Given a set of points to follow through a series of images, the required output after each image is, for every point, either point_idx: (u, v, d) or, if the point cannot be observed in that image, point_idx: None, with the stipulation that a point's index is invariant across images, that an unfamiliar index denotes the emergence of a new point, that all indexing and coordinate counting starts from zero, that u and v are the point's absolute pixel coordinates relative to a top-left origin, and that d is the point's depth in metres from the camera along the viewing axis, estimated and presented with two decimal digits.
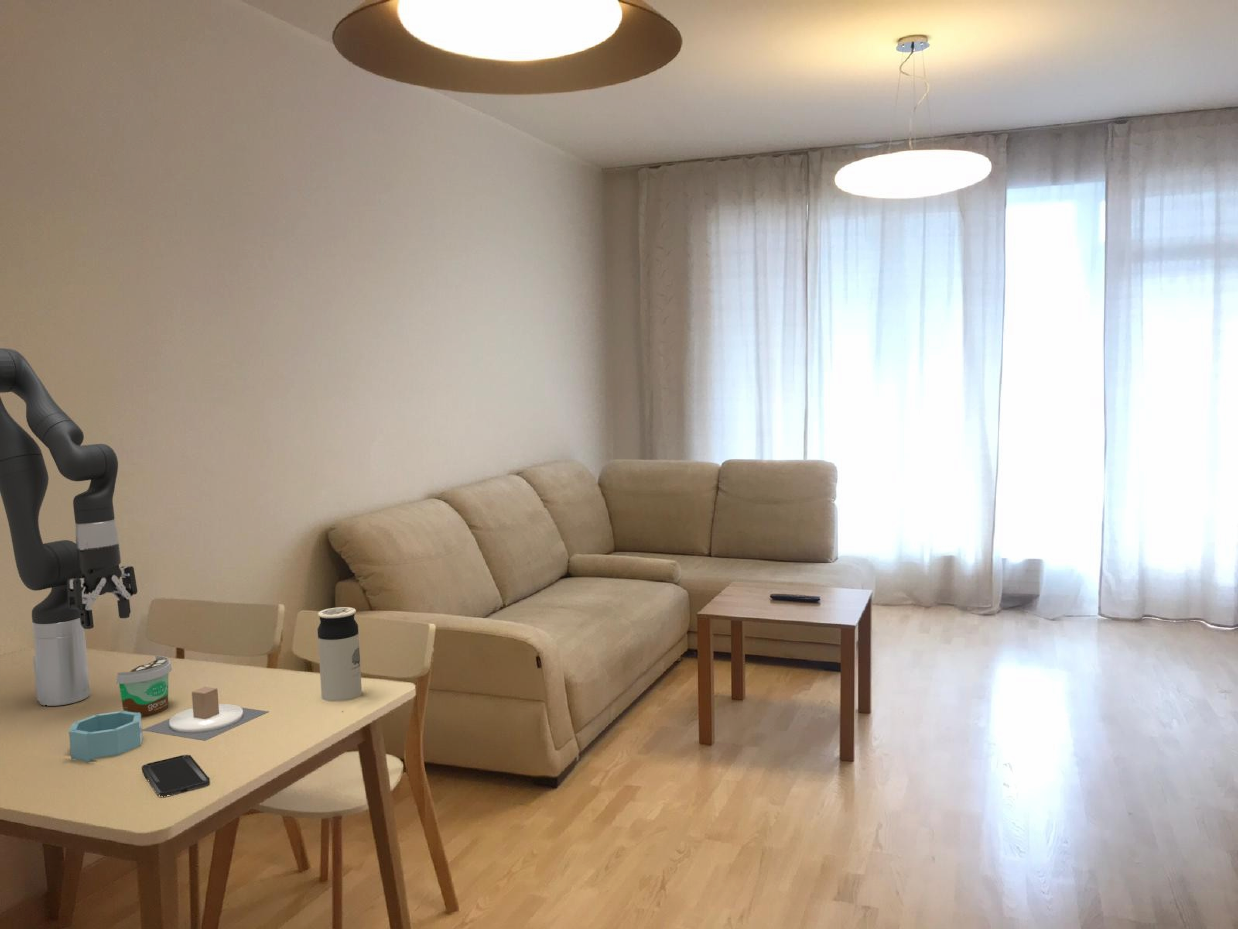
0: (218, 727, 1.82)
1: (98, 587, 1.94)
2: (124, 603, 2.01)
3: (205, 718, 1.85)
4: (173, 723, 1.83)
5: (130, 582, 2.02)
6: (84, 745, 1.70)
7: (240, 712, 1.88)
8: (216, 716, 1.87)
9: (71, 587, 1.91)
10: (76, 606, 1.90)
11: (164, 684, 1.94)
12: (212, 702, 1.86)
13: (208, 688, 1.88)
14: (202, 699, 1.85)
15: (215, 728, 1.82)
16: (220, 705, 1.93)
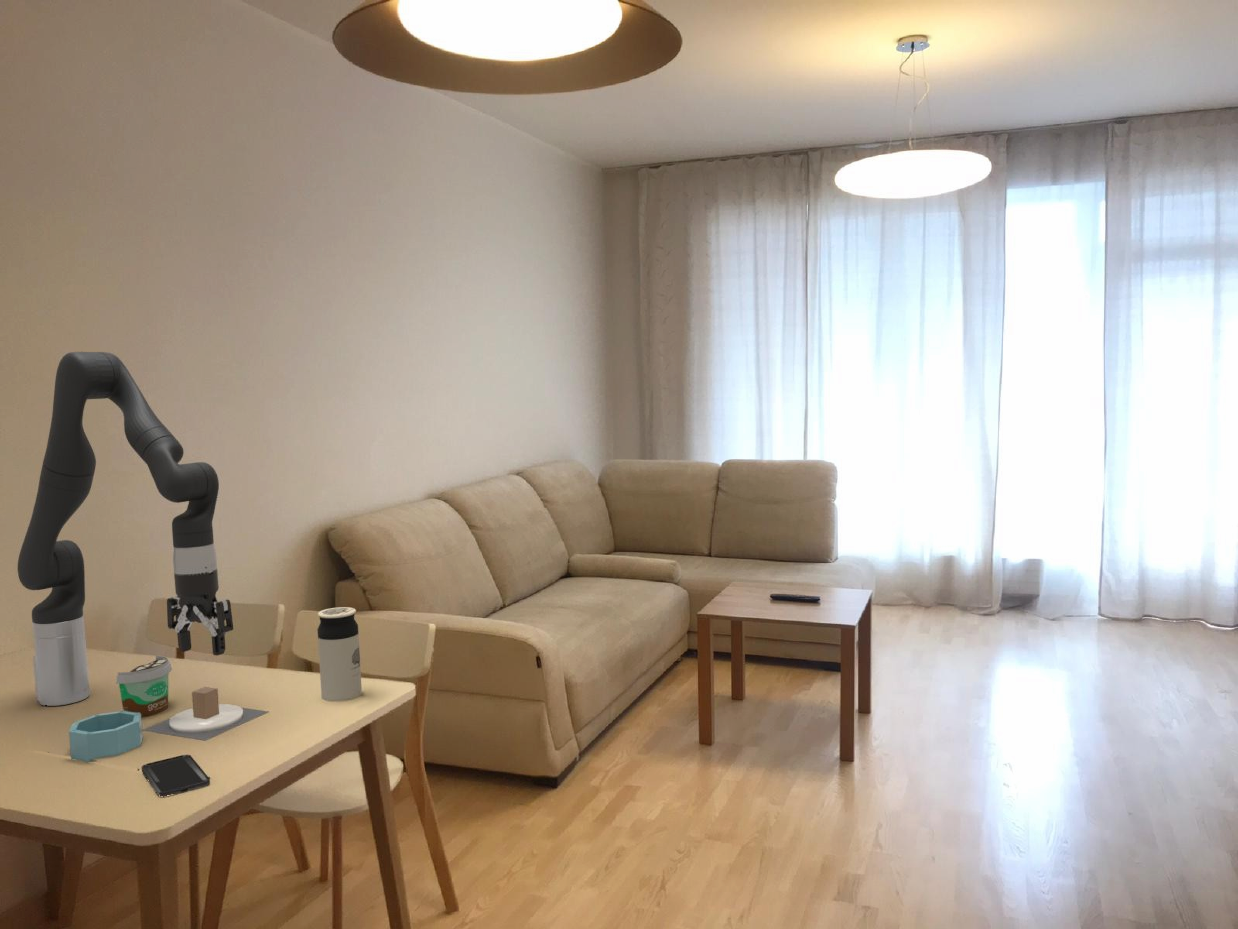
0: (218, 727, 1.83)
1: None
2: (189, 633, 1.88)
3: (205, 718, 1.85)
4: (173, 723, 1.83)
5: (181, 612, 1.89)
6: (84, 745, 1.70)
7: (240, 712, 1.89)
8: (216, 716, 1.87)
9: (225, 609, 1.82)
10: (232, 627, 1.84)
11: (164, 684, 1.94)
12: (212, 702, 1.86)
13: (208, 688, 1.88)
14: (202, 698, 1.85)
15: (215, 728, 1.82)
16: (220, 705, 1.93)
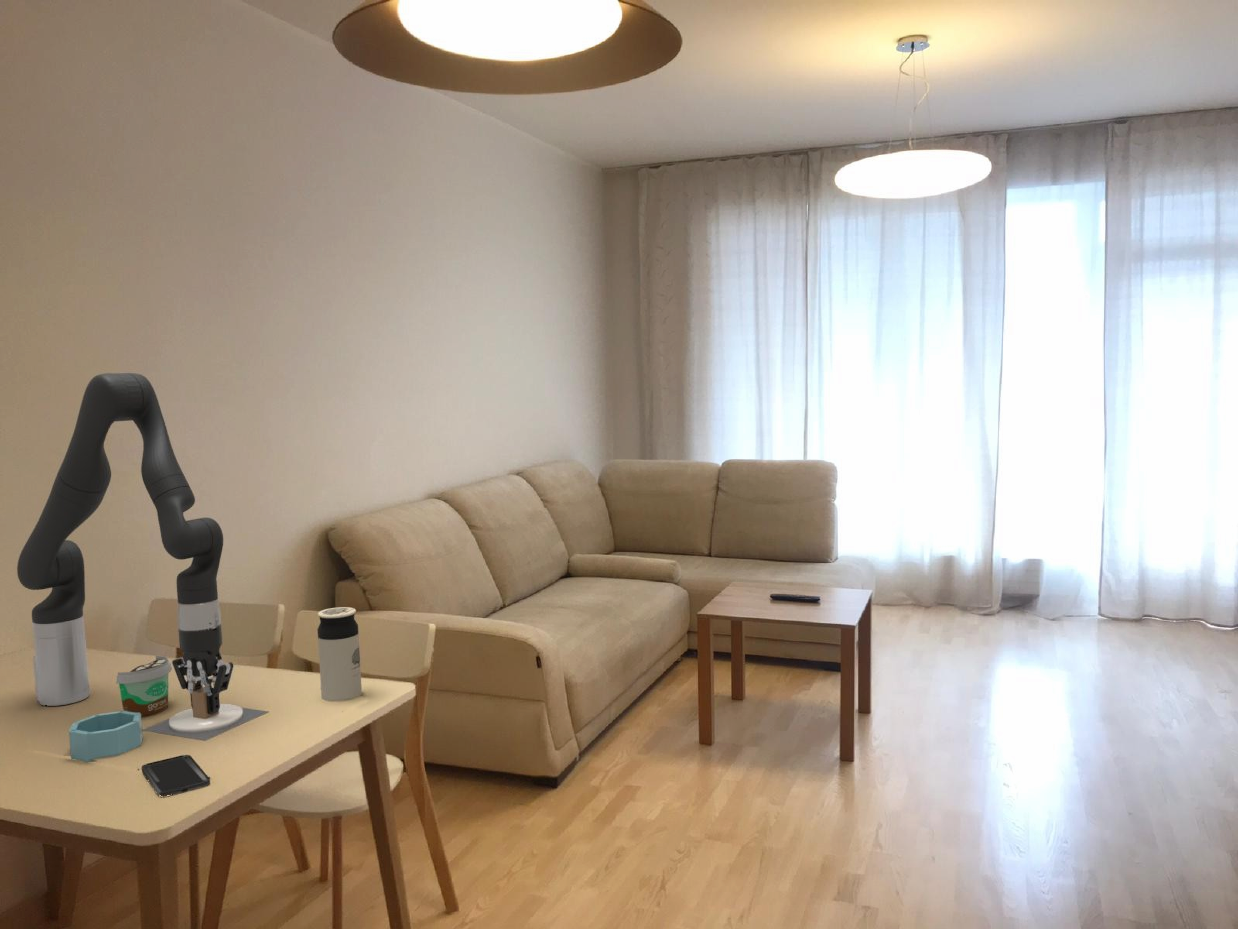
0: (218, 727, 1.83)
1: None
2: None
3: (205, 718, 1.85)
4: (173, 723, 1.83)
5: None
6: (84, 745, 1.70)
7: (240, 712, 1.89)
8: (216, 716, 1.87)
9: (227, 673, 1.84)
10: (226, 688, 1.86)
11: (164, 684, 1.94)
12: None
13: None
14: (201, 698, 1.85)
15: (215, 727, 1.82)
16: (220, 705, 1.93)
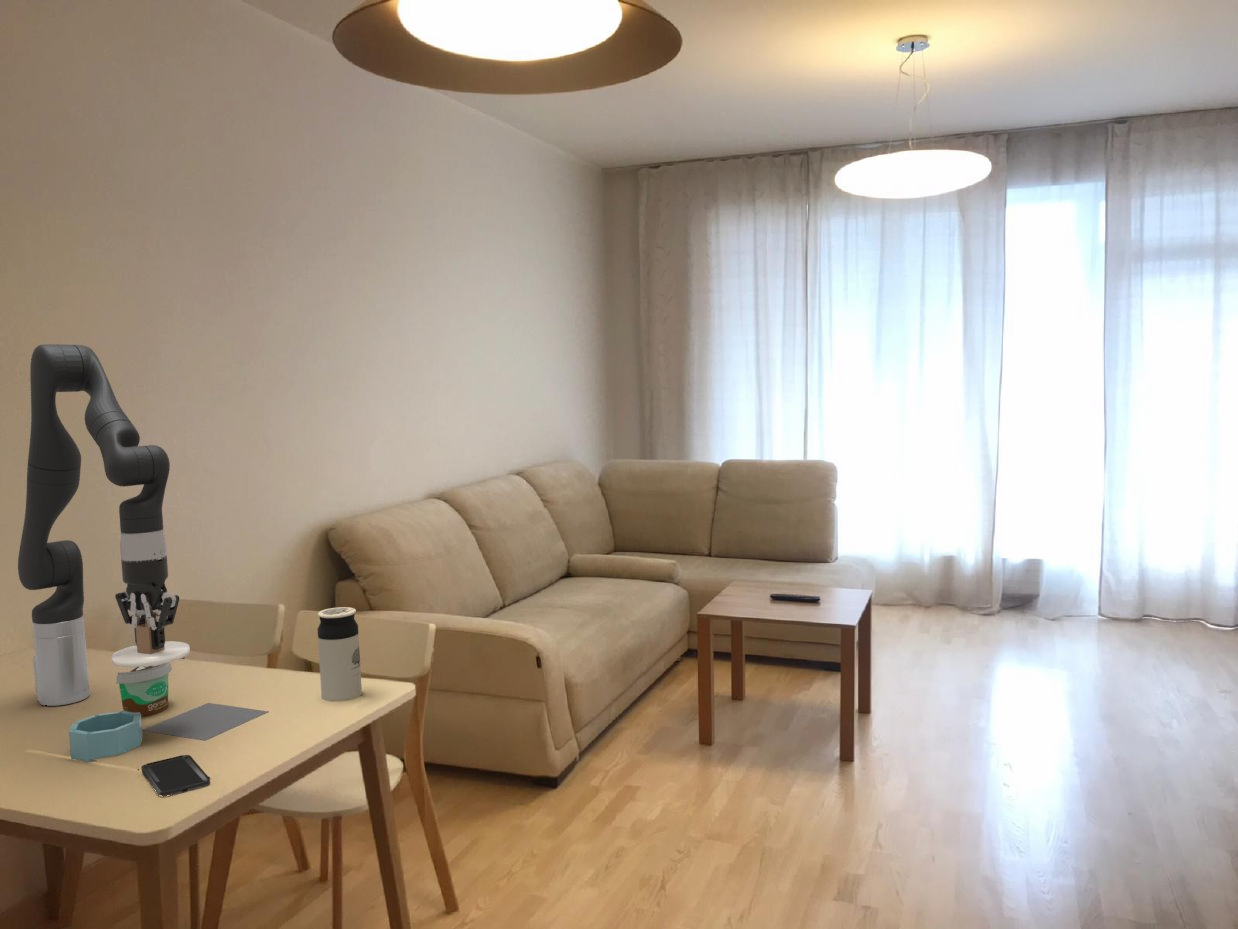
0: (163, 661, 1.76)
1: None
2: None
3: (149, 653, 1.78)
4: (115, 658, 1.76)
5: None
6: (84, 745, 1.70)
7: (187, 648, 1.82)
8: (161, 651, 1.80)
9: (172, 605, 1.77)
10: (172, 622, 1.79)
11: (164, 684, 1.94)
12: None
13: None
14: (146, 633, 1.78)
15: (160, 662, 1.75)
16: (166, 642, 1.86)
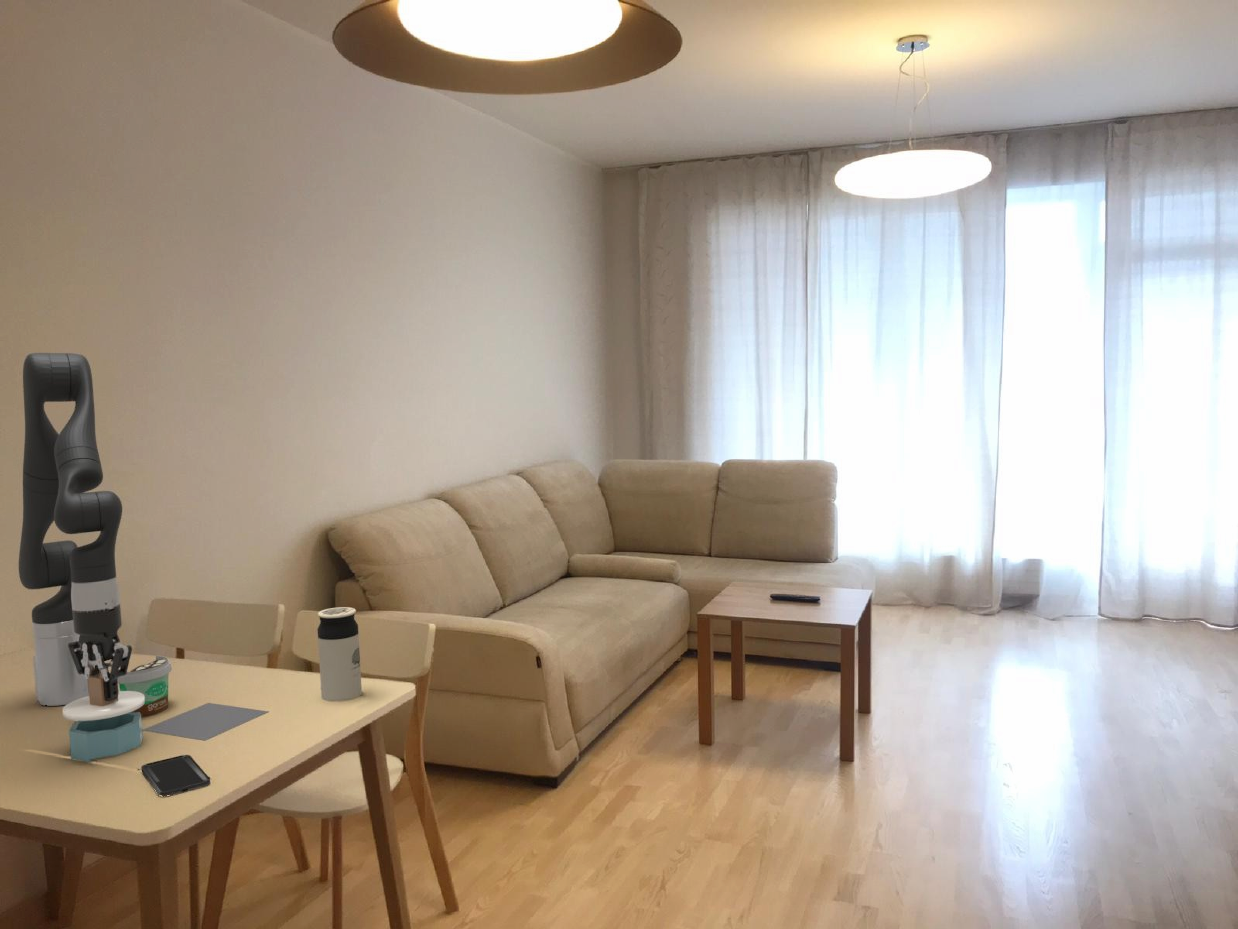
0: (114, 714, 1.70)
1: None
2: None
3: (101, 705, 1.73)
4: (66, 711, 1.71)
5: None
6: (84, 745, 1.70)
7: (141, 699, 1.76)
8: (114, 703, 1.74)
9: (124, 656, 1.72)
10: (125, 673, 1.73)
11: (164, 684, 1.94)
12: None
13: None
14: (98, 684, 1.73)
15: (111, 715, 1.70)
16: (122, 692, 1.81)
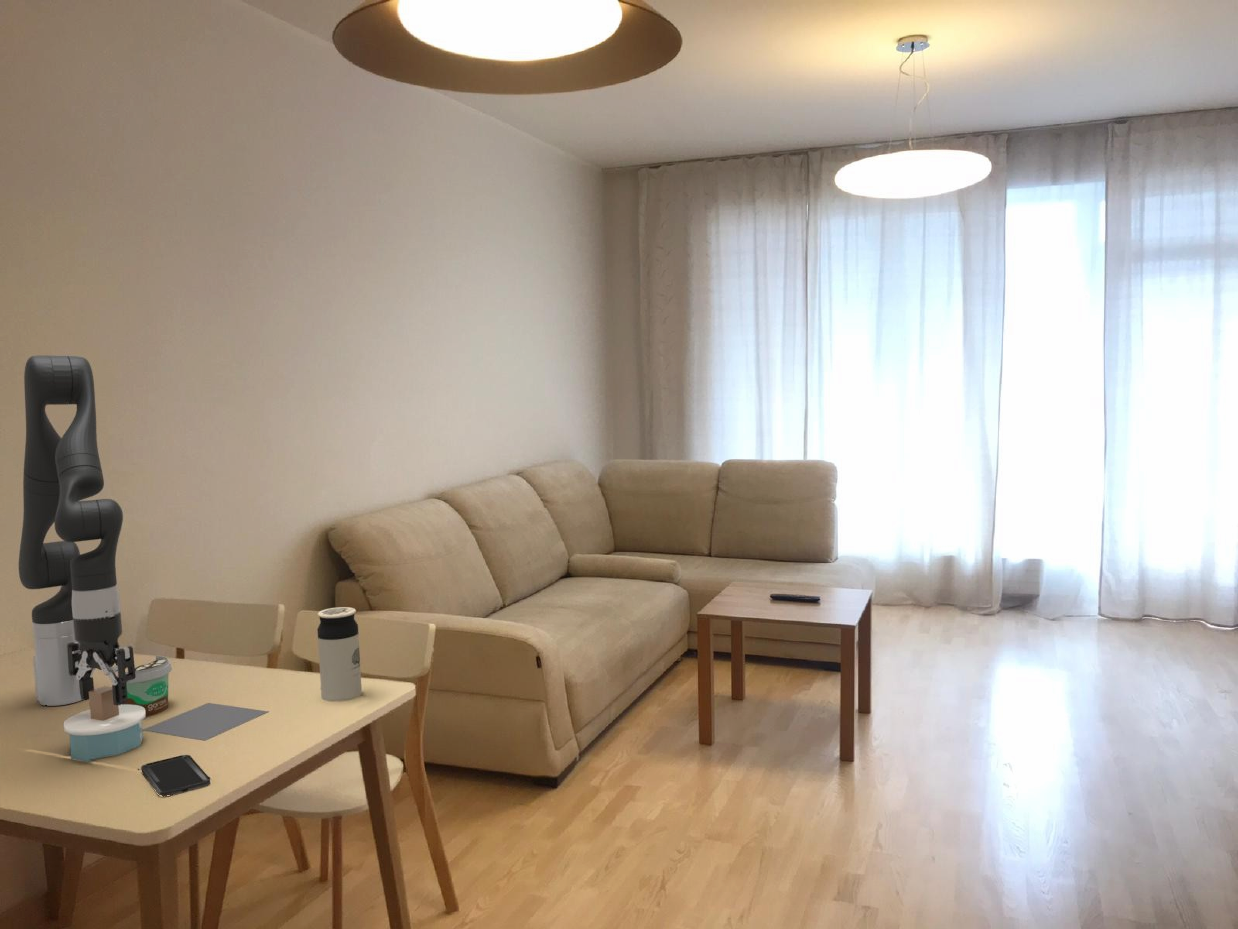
0: (114, 729, 1.70)
1: None
2: (91, 681, 1.77)
3: (102, 719, 1.73)
4: (67, 725, 1.71)
5: None
6: (84, 745, 1.70)
7: (142, 713, 1.76)
8: (115, 717, 1.75)
9: (127, 656, 1.71)
10: (134, 675, 1.73)
11: (164, 684, 1.94)
12: (110, 703, 1.74)
13: (107, 687, 1.76)
14: (98, 699, 1.73)
15: (111, 730, 1.70)
16: (123, 706, 1.81)
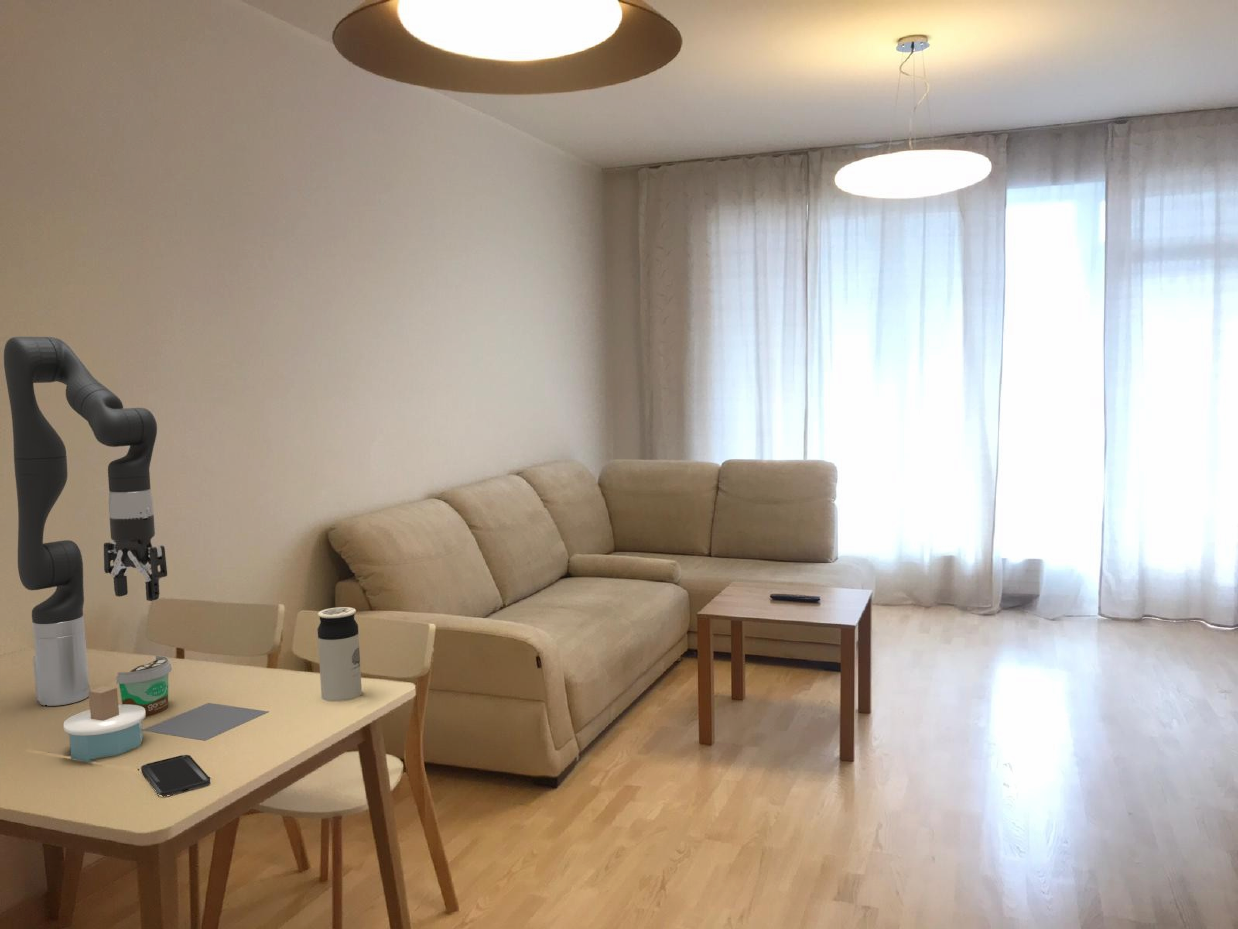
0: (114, 729, 1.70)
1: None
2: (125, 579, 1.89)
3: (102, 719, 1.73)
4: (67, 725, 1.71)
5: None
6: (84, 745, 1.70)
7: (142, 713, 1.76)
8: (115, 717, 1.75)
9: (159, 554, 1.83)
10: (166, 573, 1.84)
11: (164, 684, 1.94)
12: (110, 703, 1.74)
13: (107, 687, 1.76)
14: (98, 699, 1.73)
15: (111, 730, 1.70)
16: (123, 706, 1.81)
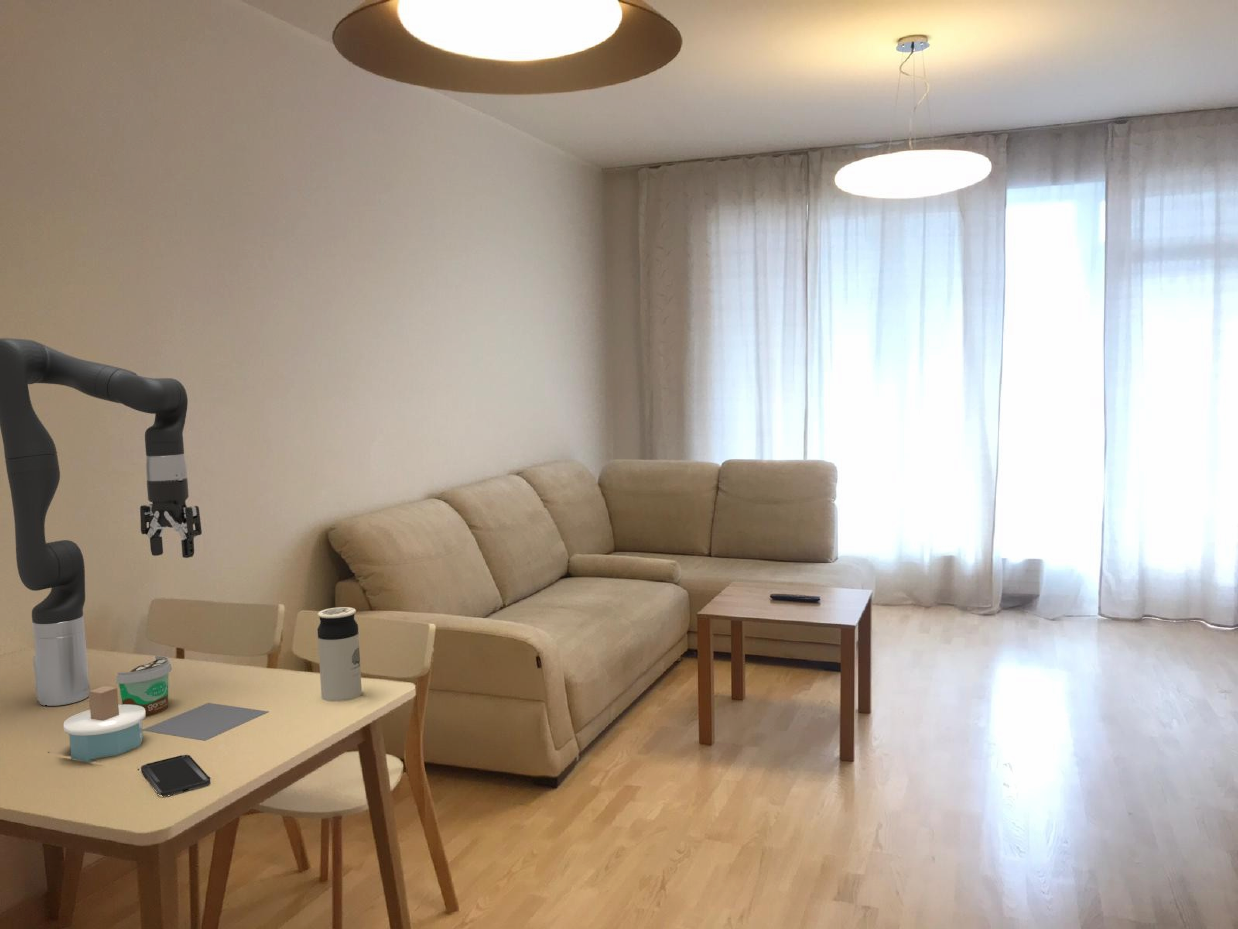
0: (114, 729, 1.70)
1: None
2: (160, 539, 2.01)
3: (102, 719, 1.73)
4: (67, 725, 1.71)
5: None
6: (84, 745, 1.70)
7: (142, 713, 1.76)
8: (115, 717, 1.75)
9: (194, 514, 1.96)
10: (200, 531, 1.97)
11: (164, 684, 1.94)
12: (110, 703, 1.74)
13: (107, 687, 1.76)
14: (98, 699, 1.73)
15: (111, 730, 1.70)
16: (123, 706, 1.81)
